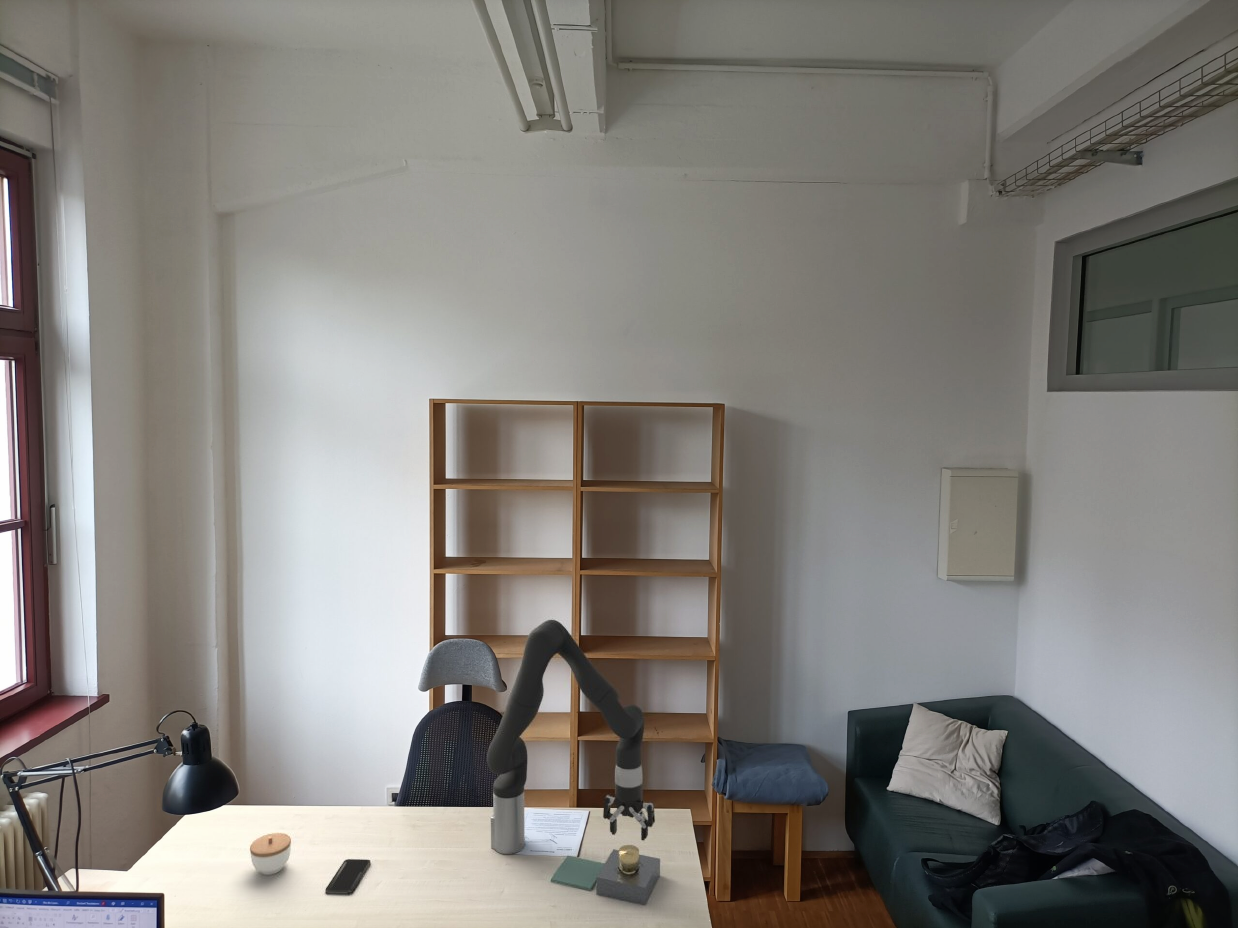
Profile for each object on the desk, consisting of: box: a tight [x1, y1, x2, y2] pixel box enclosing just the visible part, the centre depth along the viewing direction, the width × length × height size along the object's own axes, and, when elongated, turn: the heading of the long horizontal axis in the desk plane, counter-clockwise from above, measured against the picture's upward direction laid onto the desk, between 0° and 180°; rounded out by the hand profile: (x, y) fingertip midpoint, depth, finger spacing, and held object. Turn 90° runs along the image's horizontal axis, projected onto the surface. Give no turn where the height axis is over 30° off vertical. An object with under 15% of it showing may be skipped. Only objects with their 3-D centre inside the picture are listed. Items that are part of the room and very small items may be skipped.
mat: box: [550, 855, 605, 892], centre depth 226 cm, size 12×12×1 cm
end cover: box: [618, 844, 640, 874], centre depth 220 cm, size 6×6×10 cm
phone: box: [325, 858, 371, 896], centre depth 224 cm, size 8×1×15 cm
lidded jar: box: [249, 832, 292, 876], centre depth 227 cm, size 11×11×9 cm
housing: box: [595, 849, 661, 906], centre depth 220 cm, size 14×14×5 cm
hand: (628, 835), depth 219 cm, fingers open, 8 cm apart
